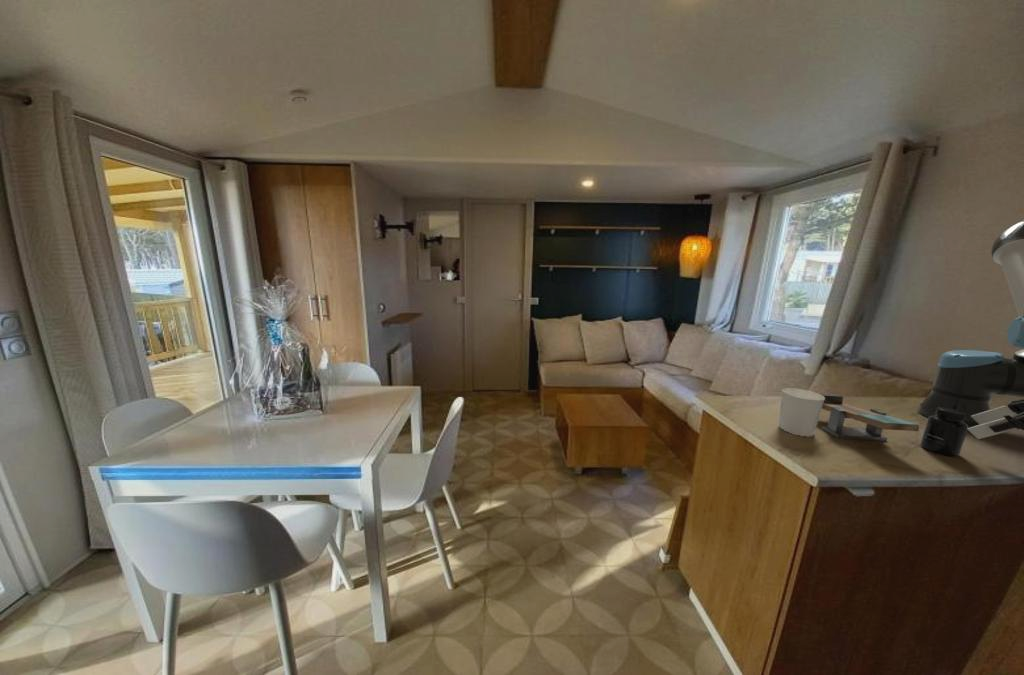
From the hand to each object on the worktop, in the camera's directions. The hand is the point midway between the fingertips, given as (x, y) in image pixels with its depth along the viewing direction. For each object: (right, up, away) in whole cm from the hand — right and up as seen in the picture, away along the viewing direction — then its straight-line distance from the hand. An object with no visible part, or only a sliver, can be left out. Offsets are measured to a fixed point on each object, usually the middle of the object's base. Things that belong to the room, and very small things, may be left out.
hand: (974, 426), depth 86 cm
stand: (-16, -6, +15) cm, 23 cm away
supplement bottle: (-1, -8, +6) cm, 10 cm away
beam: (-16, 0, +13) cm, 21 cm away
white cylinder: (-32, -6, +17) cm, 36 cm away
